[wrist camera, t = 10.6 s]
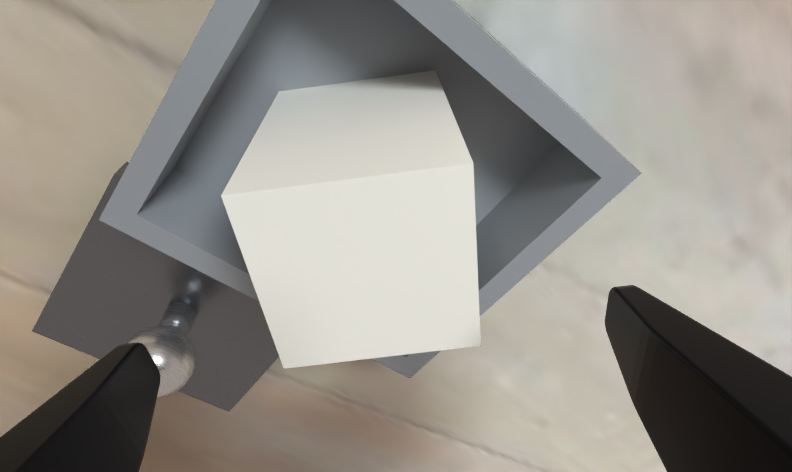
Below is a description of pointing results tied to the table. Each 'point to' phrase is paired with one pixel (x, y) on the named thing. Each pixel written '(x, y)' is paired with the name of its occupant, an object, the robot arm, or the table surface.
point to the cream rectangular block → (360, 221)
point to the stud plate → (158, 314)
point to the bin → (353, 61)
